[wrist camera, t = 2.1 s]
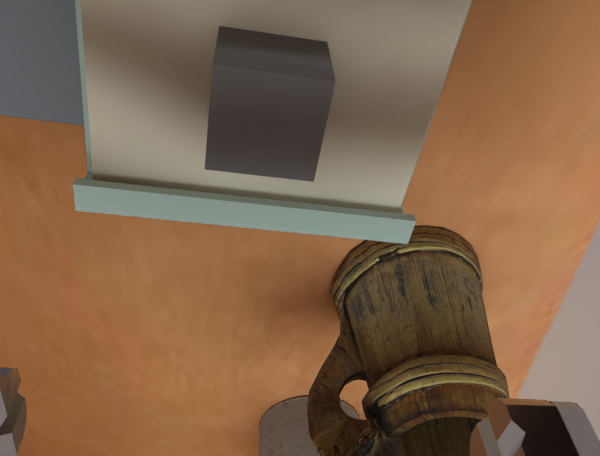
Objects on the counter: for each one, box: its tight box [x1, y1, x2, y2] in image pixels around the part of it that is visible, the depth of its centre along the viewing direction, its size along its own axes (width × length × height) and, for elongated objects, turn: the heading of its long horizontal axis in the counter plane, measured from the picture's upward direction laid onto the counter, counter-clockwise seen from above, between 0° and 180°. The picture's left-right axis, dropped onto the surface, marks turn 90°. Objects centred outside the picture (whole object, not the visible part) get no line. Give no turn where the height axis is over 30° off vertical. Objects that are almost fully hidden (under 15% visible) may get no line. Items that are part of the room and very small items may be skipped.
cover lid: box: [80, 0, 471, 213], centre depth 19 cm, size 10×12×4 cm
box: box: [73, 0, 472, 244], centre depth 22 cm, size 11×13×8 cm
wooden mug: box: [306, 226, 509, 456], centre depth 29 cm, size 9×14×18 cm, turn 90°
